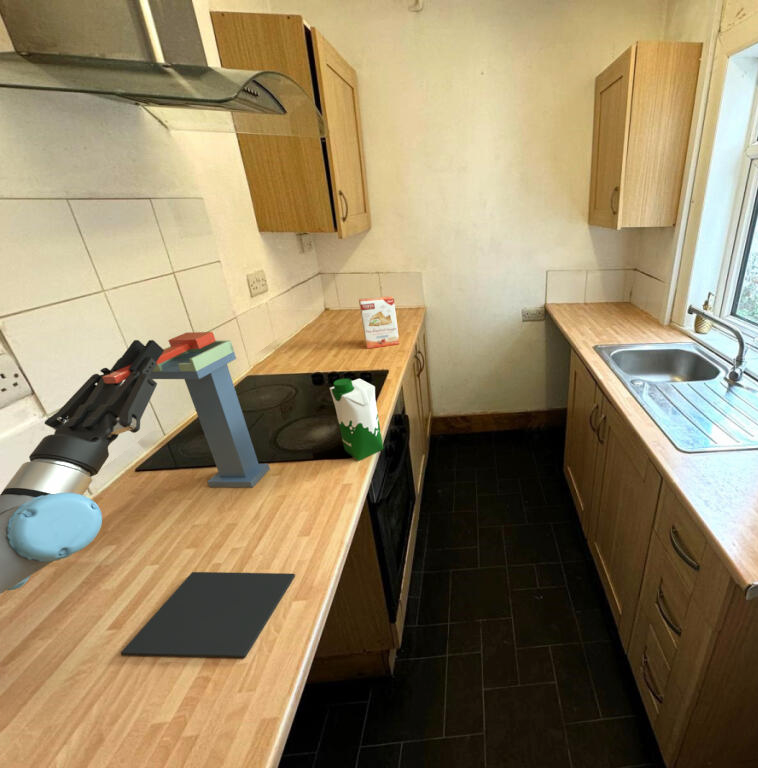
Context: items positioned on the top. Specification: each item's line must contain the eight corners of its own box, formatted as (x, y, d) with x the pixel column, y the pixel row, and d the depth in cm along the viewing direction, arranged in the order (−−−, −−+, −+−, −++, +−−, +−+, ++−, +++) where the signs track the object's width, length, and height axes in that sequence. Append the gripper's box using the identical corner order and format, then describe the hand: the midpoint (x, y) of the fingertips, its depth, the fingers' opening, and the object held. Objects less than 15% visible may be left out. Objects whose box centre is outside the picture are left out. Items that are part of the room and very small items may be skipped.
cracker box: (367, 349, 179) (359, 301, 171) (365, 345, 184) (357, 298, 176) (400, 344, 184) (394, 297, 176) (397, 340, 189) (391, 295, 181)
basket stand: (196, 499, 90) (139, 359, 77) (229, 468, 100) (184, 340, 87) (241, 499, 90) (192, 358, 76) (270, 469, 100) (230, 340, 87)
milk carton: (339, 451, 107) (324, 379, 98) (371, 437, 113) (359, 369, 104) (356, 464, 101) (341, 390, 93) (389, 449, 107) (377, 378, 99)
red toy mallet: (94, 384, 67) (88, 372, 66) (189, 341, 85) (186, 332, 85) (127, 383, 66) (122, 371, 66) (216, 341, 85) (212, 331, 84)
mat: (121, 655, 59) (119, 652, 59) (193, 574, 72) (192, 571, 72) (245, 658, 58) (243, 655, 58) (295, 576, 71) (294, 573, 71)
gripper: (36, 479, 63) (124, 358, 77) (132, 480, 62) (204, 358, 76) (-16, 457, 57) (90, 330, 70) (90, 458, 56) (176, 330, 70)
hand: (149, 345), depth 73 cm, fingers closed on red toy mallet, 2 cm apart
